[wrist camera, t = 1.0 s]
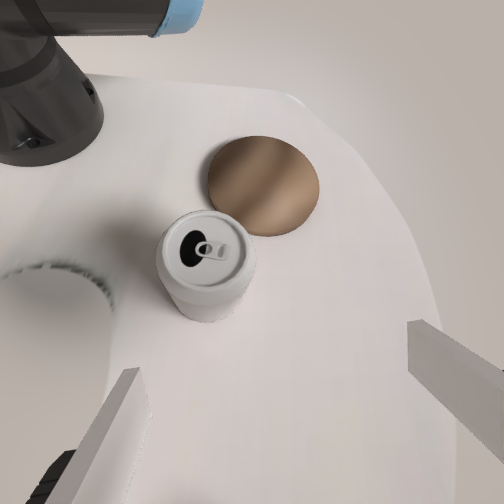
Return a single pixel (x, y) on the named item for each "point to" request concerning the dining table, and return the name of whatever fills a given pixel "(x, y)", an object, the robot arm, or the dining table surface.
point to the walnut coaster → (263, 185)
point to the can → (206, 264)
